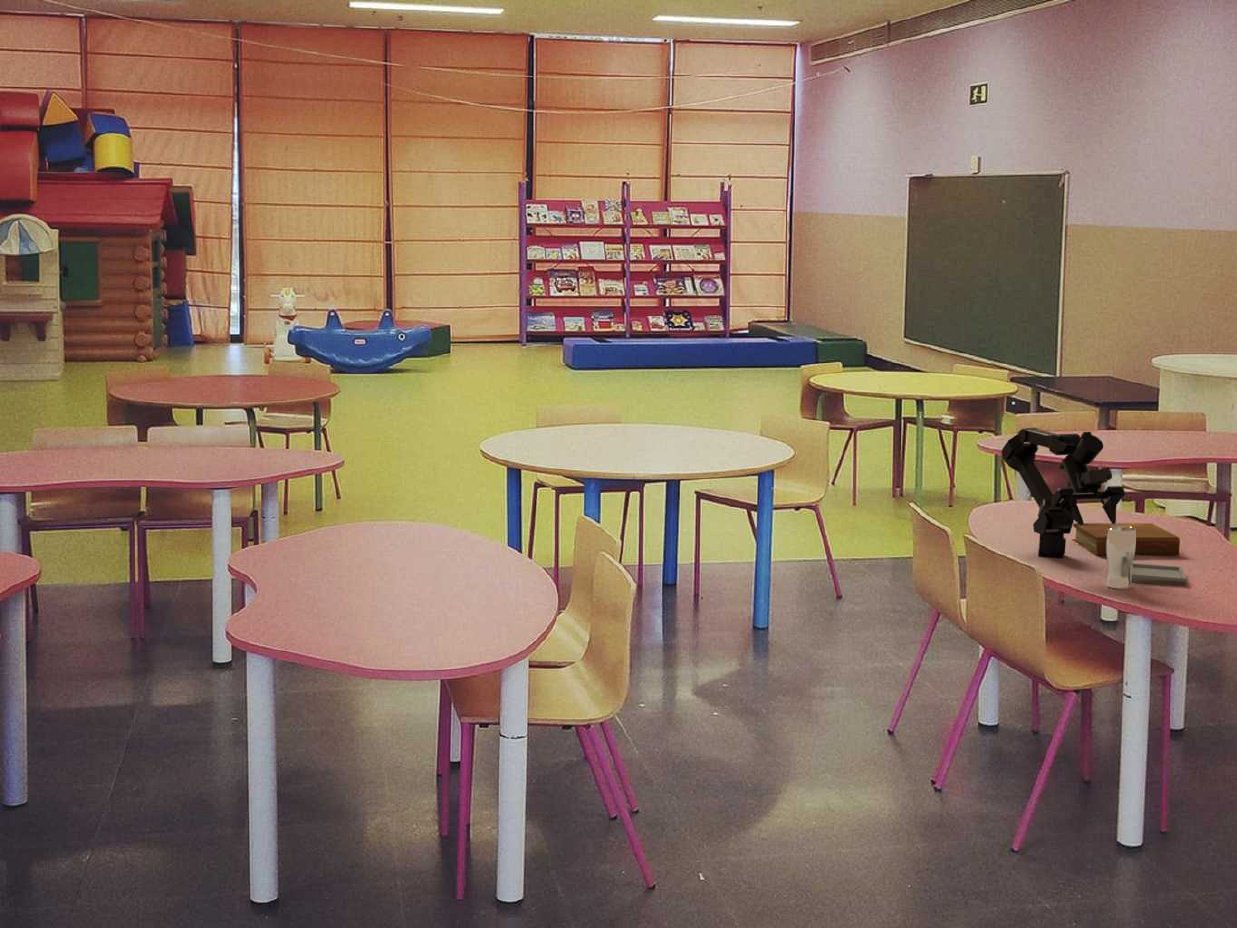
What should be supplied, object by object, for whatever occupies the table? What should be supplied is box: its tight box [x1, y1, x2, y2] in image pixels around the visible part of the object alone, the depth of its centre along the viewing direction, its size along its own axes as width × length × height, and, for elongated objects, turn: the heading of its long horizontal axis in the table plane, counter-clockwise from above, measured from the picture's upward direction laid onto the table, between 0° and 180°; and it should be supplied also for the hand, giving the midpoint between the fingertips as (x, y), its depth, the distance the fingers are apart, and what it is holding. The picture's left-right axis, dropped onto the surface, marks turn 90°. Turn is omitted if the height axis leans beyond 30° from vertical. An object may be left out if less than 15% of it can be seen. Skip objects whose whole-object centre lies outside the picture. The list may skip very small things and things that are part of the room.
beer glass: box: [1104, 526, 1136, 590], centre depth 348 cm, size 7×7×15 cm
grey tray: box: [1130, 562, 1187, 587], centre depth 357 cm, size 13×13×2 cm
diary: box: [1071, 522, 1181, 557], centre depth 390 cm, size 23×19×6 cm
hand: (1098, 524), depth 358 cm, fingers open, 9 cm apart
